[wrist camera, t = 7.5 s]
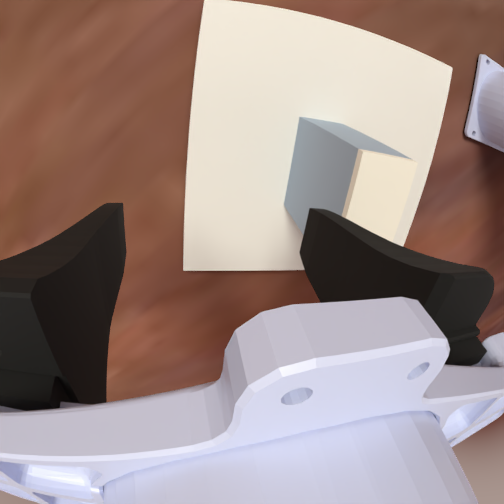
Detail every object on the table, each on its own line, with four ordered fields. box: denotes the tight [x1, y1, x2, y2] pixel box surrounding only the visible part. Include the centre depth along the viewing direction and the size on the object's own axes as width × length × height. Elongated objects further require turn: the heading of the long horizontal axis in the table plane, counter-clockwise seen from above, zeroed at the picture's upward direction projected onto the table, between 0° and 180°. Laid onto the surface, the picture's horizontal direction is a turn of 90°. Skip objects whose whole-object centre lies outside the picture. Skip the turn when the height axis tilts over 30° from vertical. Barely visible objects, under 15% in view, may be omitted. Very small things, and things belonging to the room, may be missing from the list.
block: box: [284, 117, 418, 242], centre depth 17 cm, size 3×6×8 cm, turn 173°
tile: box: [183, 0, 453, 271], centre depth 20 cm, size 18×18×1 cm
